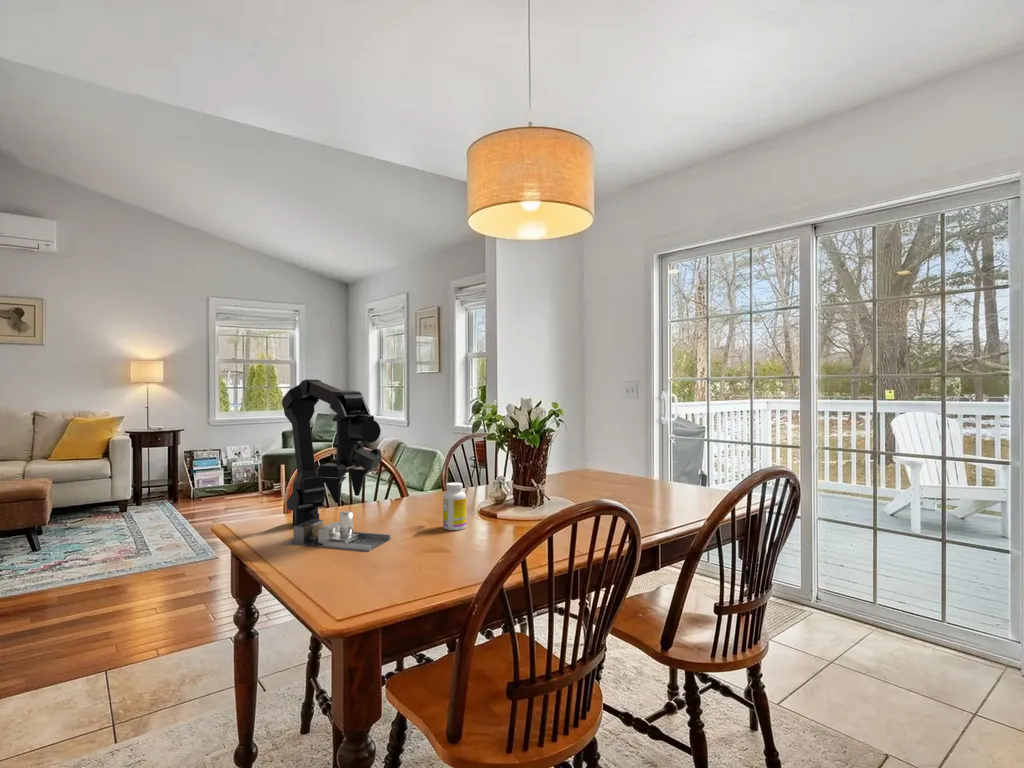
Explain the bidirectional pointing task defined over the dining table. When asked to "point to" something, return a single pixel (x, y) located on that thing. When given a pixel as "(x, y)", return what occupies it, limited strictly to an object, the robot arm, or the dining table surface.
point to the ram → (338, 530)
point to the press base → (362, 543)
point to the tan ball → (316, 530)
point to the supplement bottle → (454, 507)
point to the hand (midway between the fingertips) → (347, 499)
